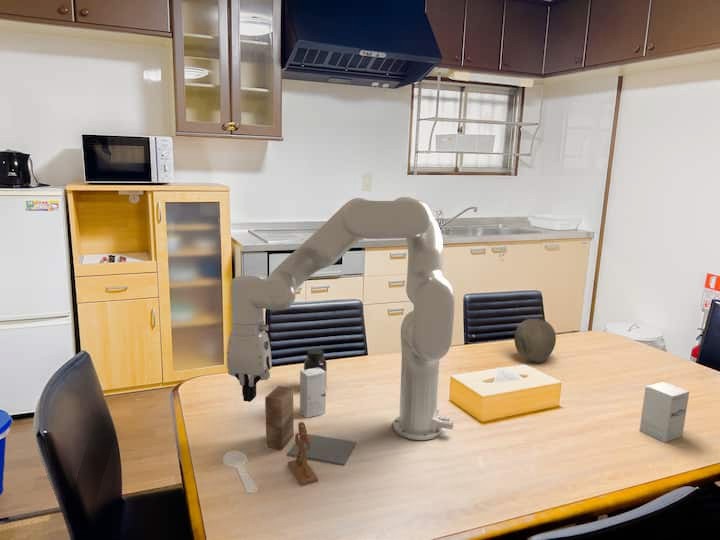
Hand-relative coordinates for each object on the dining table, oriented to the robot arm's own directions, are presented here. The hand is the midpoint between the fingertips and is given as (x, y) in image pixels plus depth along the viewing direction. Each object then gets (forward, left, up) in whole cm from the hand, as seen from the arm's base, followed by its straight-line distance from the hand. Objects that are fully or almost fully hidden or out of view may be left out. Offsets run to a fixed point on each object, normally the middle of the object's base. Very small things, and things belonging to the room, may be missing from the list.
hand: (249, 399), depth 128 cm
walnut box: (-8, 0, -10) cm, 13 cm away
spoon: (-5, +14, -11) cm, 18 cm away
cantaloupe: (-70, -79, -10) cm, 106 cm away
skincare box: (-10, -17, -10) cm, 22 cm away
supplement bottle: (-5, -32, -10) cm, 34 cm away
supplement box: (-100, -34, -10) cm, 106 cm away
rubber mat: (-19, 0, -10) cm, 22 cm away
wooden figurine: (-18, +11, -10) cm, 24 cm away
